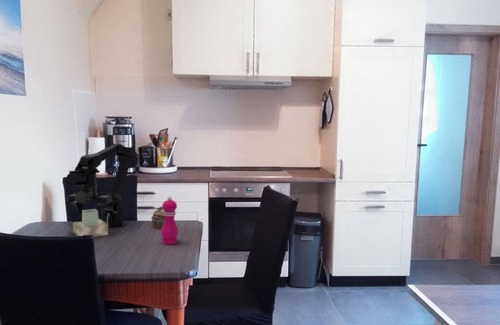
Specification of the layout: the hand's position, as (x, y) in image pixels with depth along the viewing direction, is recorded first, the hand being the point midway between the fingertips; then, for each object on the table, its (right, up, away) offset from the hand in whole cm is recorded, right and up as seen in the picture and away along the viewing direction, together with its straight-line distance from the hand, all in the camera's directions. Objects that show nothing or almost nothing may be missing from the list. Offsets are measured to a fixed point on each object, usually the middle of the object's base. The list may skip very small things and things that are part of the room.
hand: (90, 217), depth 171 cm
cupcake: (+29, -7, +14) cm, 33 cm away
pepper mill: (+38, -10, -9) cm, 40 cm away
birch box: (0, -8, +1) cm, 8 cm away
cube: (0, -3, 0) cm, 3 cm away
